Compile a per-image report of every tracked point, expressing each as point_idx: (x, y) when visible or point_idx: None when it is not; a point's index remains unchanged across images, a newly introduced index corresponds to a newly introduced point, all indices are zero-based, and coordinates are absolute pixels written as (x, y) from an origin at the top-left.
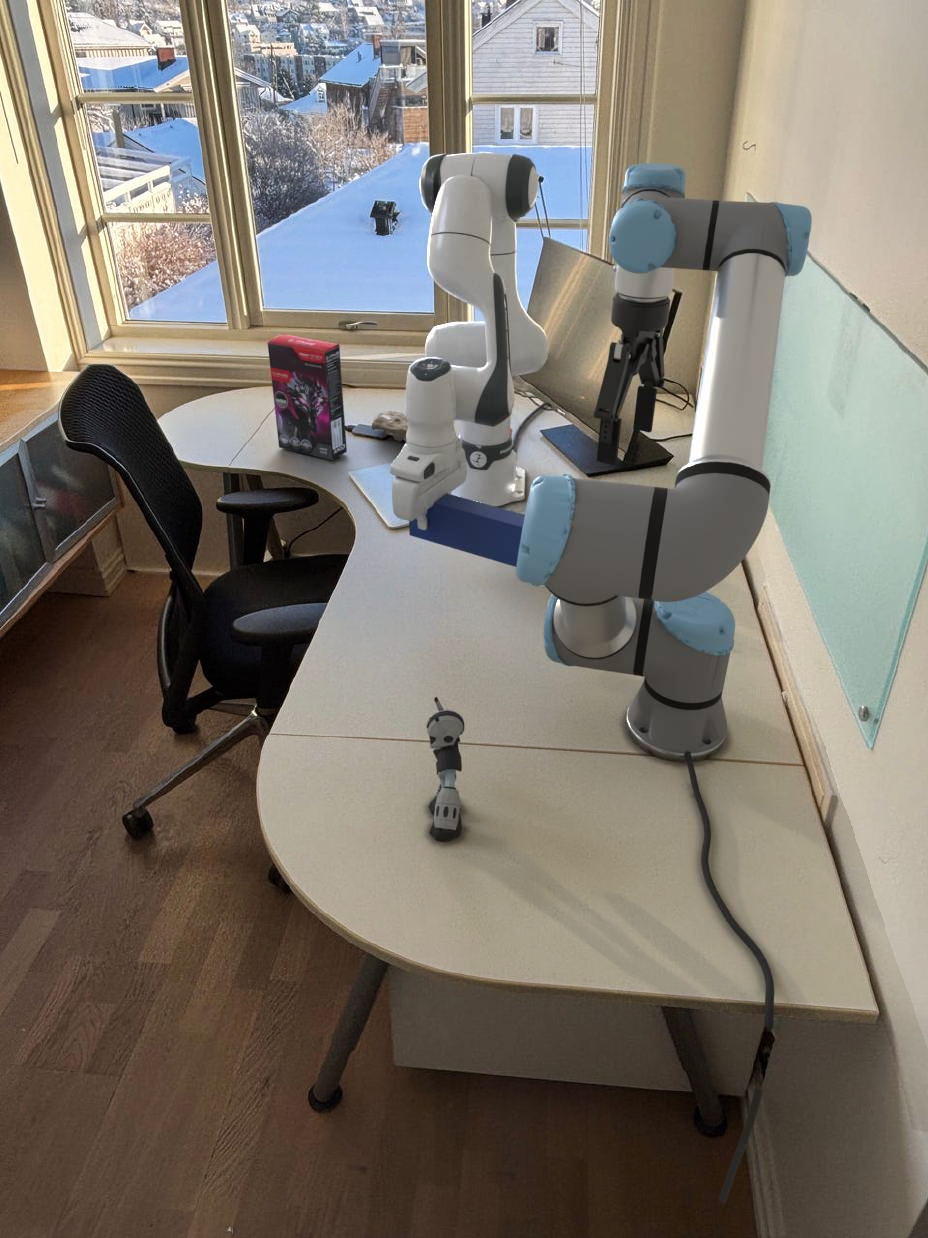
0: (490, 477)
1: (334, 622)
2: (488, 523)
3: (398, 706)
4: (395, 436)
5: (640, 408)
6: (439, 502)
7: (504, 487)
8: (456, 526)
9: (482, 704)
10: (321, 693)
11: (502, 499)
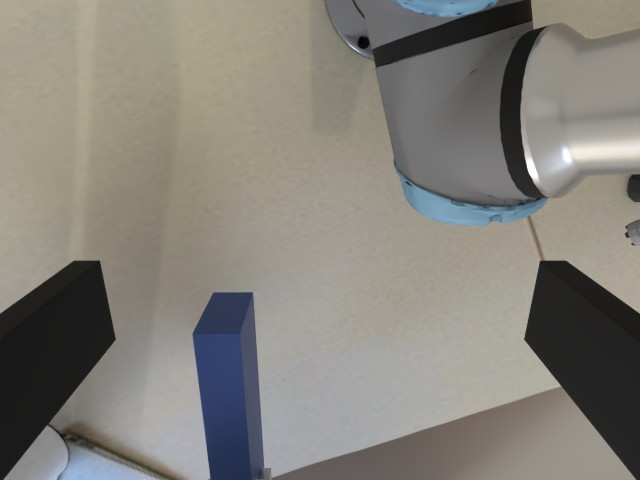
0: (16, 466)
1: (389, 436)
2: (248, 413)
3: (497, 310)
4: None
5: (44, 394)
6: None
7: None
8: (255, 443)
9: (454, 235)
10: (509, 382)
11: None
